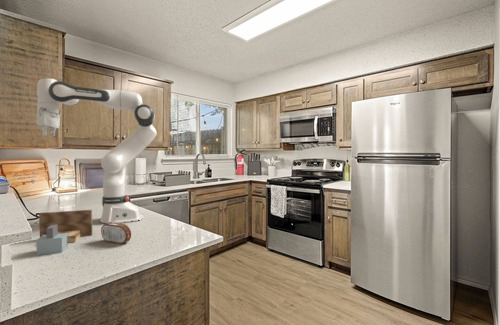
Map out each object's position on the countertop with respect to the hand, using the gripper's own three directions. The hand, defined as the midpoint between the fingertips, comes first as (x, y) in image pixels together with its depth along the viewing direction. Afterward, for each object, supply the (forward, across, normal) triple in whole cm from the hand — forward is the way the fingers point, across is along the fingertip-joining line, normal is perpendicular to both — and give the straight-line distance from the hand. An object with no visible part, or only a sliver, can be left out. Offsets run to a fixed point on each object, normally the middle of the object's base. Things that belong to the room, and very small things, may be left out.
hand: (48, 135), depth 133 cm
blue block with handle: (+48, -43, -15) cm, 66 cm away
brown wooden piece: (+48, -30, -15) cm, 58 cm away
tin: (+48, -40, -37) cm, 73 cm away
